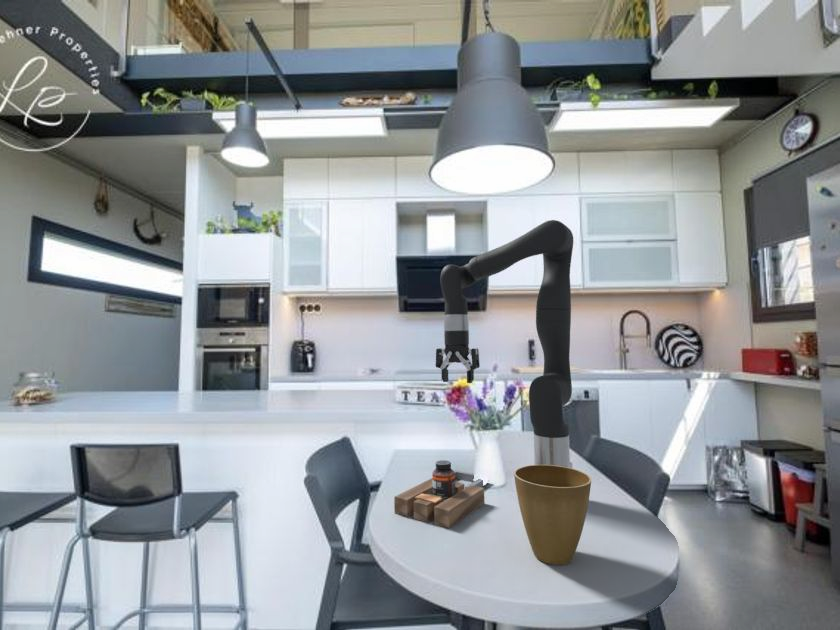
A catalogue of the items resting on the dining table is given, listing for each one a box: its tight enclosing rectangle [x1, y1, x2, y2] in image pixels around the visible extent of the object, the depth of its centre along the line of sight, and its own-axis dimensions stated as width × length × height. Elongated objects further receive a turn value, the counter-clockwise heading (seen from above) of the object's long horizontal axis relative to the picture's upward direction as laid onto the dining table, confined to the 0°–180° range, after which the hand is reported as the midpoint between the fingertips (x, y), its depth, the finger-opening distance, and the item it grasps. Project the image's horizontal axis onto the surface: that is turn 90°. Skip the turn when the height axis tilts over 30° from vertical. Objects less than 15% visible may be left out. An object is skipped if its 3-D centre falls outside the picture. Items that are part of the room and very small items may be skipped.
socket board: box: [393, 477, 485, 529], centre depth 111 cm, size 16×18×4 cm
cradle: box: [452, 469, 484, 489], centre depth 128 cm, size 12×12×2 cm
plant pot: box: [513, 464, 592, 566], centre depth 87 cm, size 15×15×16 cm
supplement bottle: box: [431, 459, 456, 502], centre depth 113 cm, size 6×6×11 cm
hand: (457, 382), depth 132 cm, fingers open, 8 cm apart
